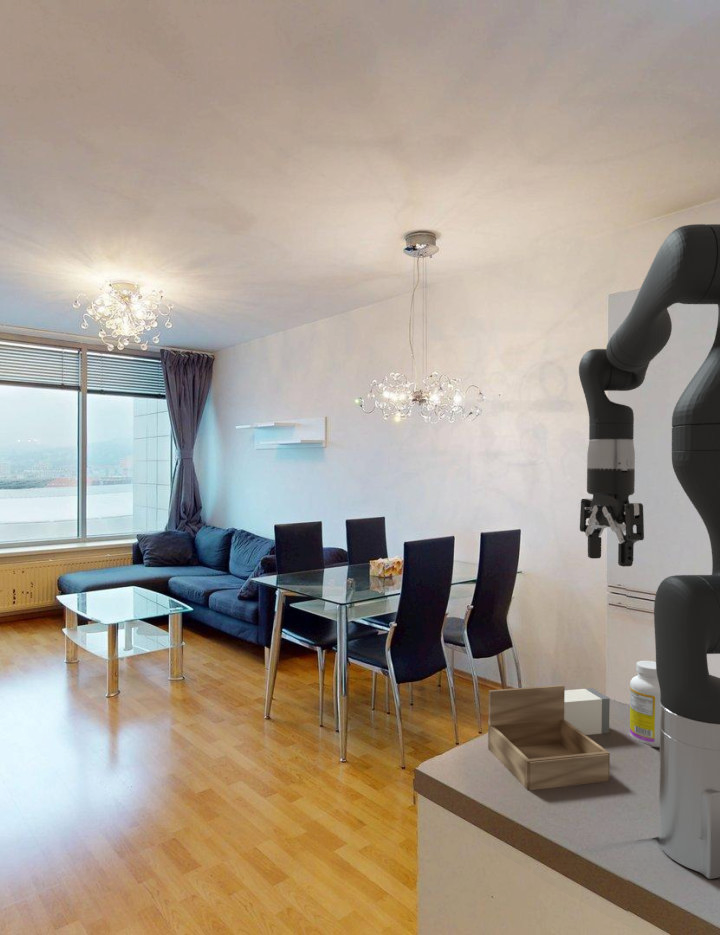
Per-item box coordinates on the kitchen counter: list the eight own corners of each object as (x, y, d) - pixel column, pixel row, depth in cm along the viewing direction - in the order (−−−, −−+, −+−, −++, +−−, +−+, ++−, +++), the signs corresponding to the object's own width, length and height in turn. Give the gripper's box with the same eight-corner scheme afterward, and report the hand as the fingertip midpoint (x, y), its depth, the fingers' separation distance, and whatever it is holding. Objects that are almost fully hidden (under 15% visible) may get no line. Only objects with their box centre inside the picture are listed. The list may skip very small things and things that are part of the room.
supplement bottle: (663, 733, 108) (664, 659, 108) (679, 750, 102) (680, 672, 102) (624, 730, 109) (625, 657, 109) (637, 748, 102) (638, 670, 102)
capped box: (556, 741, 104) (557, 702, 104) (541, 728, 109) (541, 692, 109) (609, 736, 107) (609, 698, 107) (592, 724, 112) (592, 688, 112)
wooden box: (610, 784, 90) (611, 716, 90) (527, 794, 87) (528, 723, 87) (561, 744, 103) (562, 684, 103) (488, 752, 100) (488, 690, 100)
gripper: (567, 466, 112) (566, 556, 112) (617, 466, 98) (616, 569, 98) (604, 466, 113) (603, 555, 113) (658, 467, 99) (657, 568, 99)
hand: (609, 562), depth 105 cm, fingers open, 8 cm apart
